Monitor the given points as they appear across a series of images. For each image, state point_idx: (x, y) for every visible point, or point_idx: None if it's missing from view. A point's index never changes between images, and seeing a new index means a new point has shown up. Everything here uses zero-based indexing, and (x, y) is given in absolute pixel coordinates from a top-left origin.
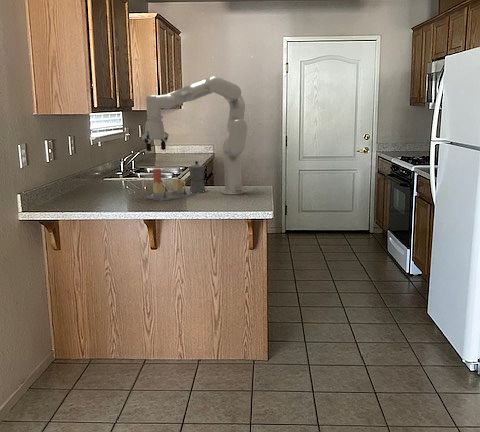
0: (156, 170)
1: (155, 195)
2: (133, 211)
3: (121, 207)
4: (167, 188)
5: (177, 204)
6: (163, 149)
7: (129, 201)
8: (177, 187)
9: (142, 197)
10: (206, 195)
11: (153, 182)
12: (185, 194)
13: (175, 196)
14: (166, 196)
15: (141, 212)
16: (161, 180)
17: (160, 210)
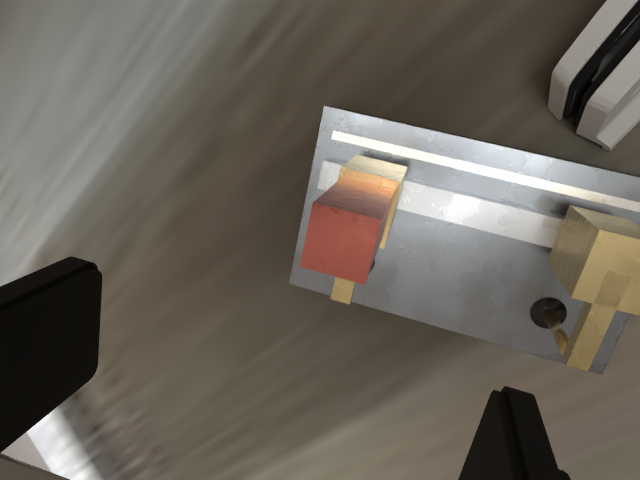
0: (306, 263)
1: None
2: None
3: (37, 197)
4: (591, 128)
5: (246, 424)
6: (466, 463)
7: (185, 82)
8: (555, 268)
9: (356, 34)
10: (609, 437)
11: (338, 177)
12: (511, 337)
13: (405, 317)
14: None
15: None
16: (636, 41)
17: (95, 428)
